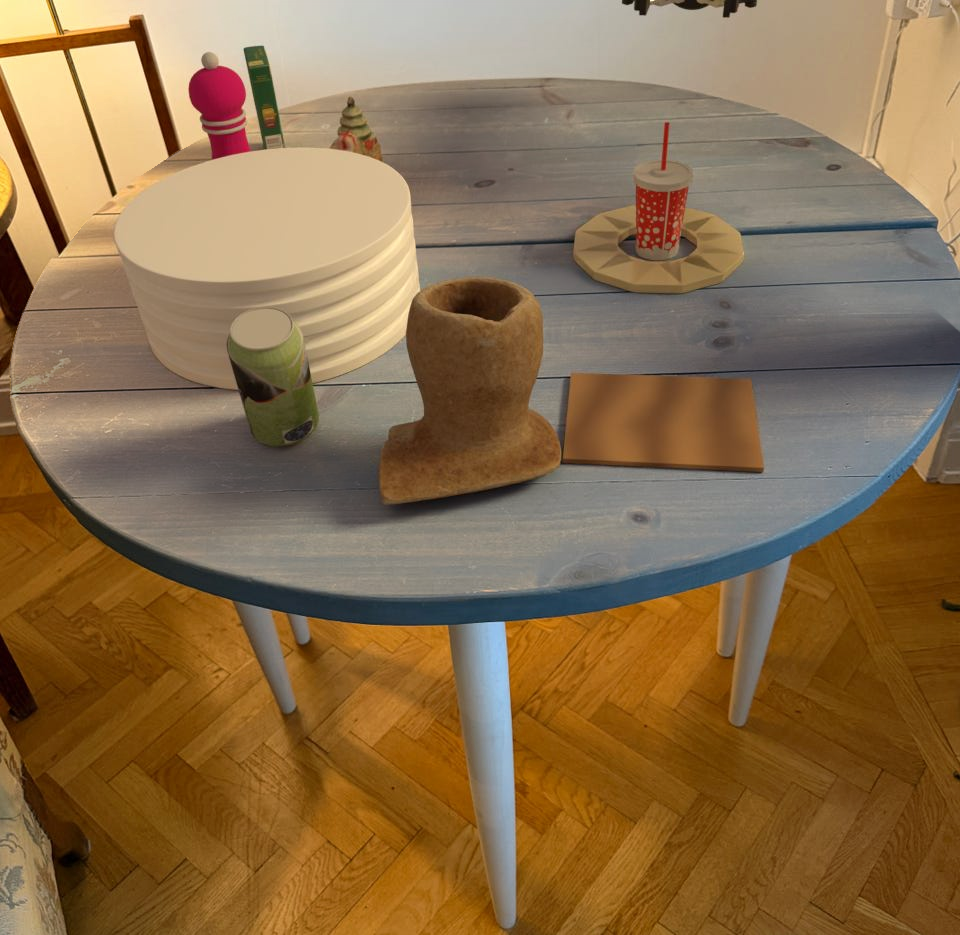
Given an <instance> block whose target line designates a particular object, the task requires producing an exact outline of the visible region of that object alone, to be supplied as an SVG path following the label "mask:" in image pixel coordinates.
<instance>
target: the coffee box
mask: <svg viewBox="0 0 960 935" xmlns="http://www.w3.org/2000/svg"><path fill="white" fill-rule="evenodd" d="M242 50H243V54H244V59H245V63H246V64H245V65H246V68H247V73H248V78H249V83H250V88H251V94H252V98H253V102H254V103H253V104H254V106H255V107H254V108H255V111H256V117H257V122H258V126H259V132H260V136H261V141H262V145H263V150H266V149H277V148H286V144H285V138H284V134H283V128H282V123H281V118H280V113H279V108H278V107H279V106H278V101H277V96H276V92H275V86H274V80H273V75H272V69H271V64H270V61H269V58H268V54H267V50H266V48H265V46H264V45H253V46H246V47H243V49H242Z"/></svg>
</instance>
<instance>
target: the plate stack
mask: <svg viewBox="0 0 960 935" xmlns="http://www.w3.org/2000/svg"><path fill="white" fill-rule="evenodd" d="M413 218H414V217H413V213H412V199H411V192H410V187H409V185H408V183H407V181H406V180H405V178H404V177H403V176H402V175H401V174H400V173H399V172H398V171H397V170H395V168H393V167H392V166H391V165H388V164H387V163H386V162H385V163H384V161H383V162H381V161H379V160H376V159H374V158H371V157H368V156H365V155H361V154H358V153H353V152H348V151H343V150H336V149H330V148H325V147H297V146H296V147H285V148H277V149H266V150H265V149H259V150H251V152H245V153H240V154H235V155H230V156H226V157H221V158H218V159H214V160H212V159H211V160H207V161H203V162H201V163H198V164H195V165H191V166H189V167H187V168H184V169H181V170H179V171H176V172H174V173H172V174H170V175H167V176H166V177H164V178H162V179H160V180H158V181H156V182H154V183H153V184H151V185H150V186H148V187H147V188H145V189H144V190H142V191H141V192H140V193H138V194H136V196H134V197H133V198H132V199H131V200H130V201H129V202H128V203H127V204H126V205H125V207H124V208H123V209H122V210H121V212H120V213H119V215H118V217H117V219H116V221H115V223H114V227H113V240H114V244H115V246H116V249H117V252H118V256H119V257H120V259H121V261H122V266H123V270H124V272H125V275H126V276H125V277H126V278H127V281H128V282H129V283H128V284H129V285H130V291H131V293H132V296H133V299H134V302H135V304H136V306H137V309H138V313H139V314H138V315H139V316H140V319H141V323H142V325H143V327H144V330H145V333H146V338H147V340H148V343H149V345H150V349H151V351H152V353H153V354H154V356H155V357H156V359H157V360H158V361H159V362H160V363H161V364H162V365H163V366H164V367H165V368H167V369H168V370H169V371H171V372H172V373H174V374H176V375H177V376H180V377H182V378H184V379H186V380H188V381H192V382H194V383H197V384H200V385H204V386H208V387H213V388H217V389H225V390H233V391H239V390H238V387H237V383H236V380H235V376H234V373H233V369H232V366H231V362H230V359H229V355H228V352H227V345H226V344H227V338H228V336H229V333H230V328H231V325H232V323H233V322H234V320H235V319H236V318H237V317H238V316H240V315H241V314H242V313H244V312H246V311H249V310H251V309H255V308H260V307H273V308H277V309H280V310H283V311H285V312H286V313H287V314H289V316H290V317H291V318H292V320H293V321H294V322H296V323H297V325H298V326H299V327H300V329H301V331H302V333H303V338H304V343H305V348H306V353H307V358H308V363H309V368H310V373H311V378H312V383H313V384H316V383H320V382H323V381H324V382H325V381H327V380H330V379H333V378H336V377H339V376H341V375H345V374H347V373H349V372H352V371H354V370H356V369H358V368H361V367H363V366H365V365H367V364H369V363H371V362H373V361H374V360H377V359H378V358H379V357H382V355H384V354H385V353H387V352H388V351H390V350H391V349H392V348H393V347H395V346H396V345H397V344H398V343H399V342H401V340H402V339H404V337H406V328H407V321H408V314H409V309H410V306H411V302H412V299H413V298H414V297H415V296H416V294H417V293H418V292H420V291H421V285H420V279H419V277H420V276H419V265H418V260H417V247H416V240H415V239H416V238H415V228H414V227H415V226H414V219H413Z"/></svg>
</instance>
